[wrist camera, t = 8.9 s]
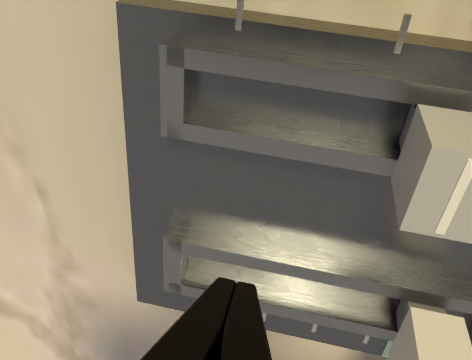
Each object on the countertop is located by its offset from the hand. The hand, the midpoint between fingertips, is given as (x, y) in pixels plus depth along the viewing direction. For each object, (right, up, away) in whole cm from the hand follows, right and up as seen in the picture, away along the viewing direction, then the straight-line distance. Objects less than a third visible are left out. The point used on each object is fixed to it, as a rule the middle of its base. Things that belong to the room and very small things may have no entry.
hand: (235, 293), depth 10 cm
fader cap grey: (+8, +5, +8) cm, 12 cm away
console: (+6, +1, +13) cm, 14 cm away
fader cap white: (+10, -4, +13) cm, 17 cm away
